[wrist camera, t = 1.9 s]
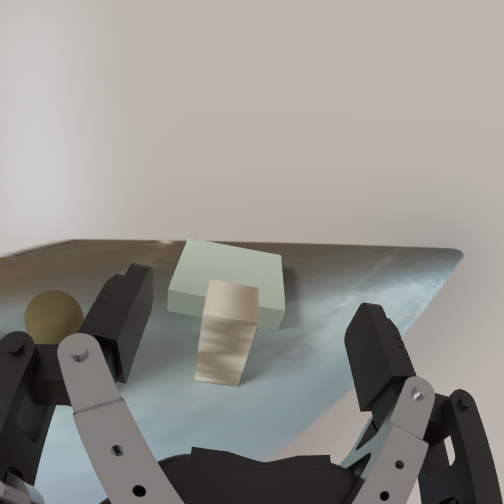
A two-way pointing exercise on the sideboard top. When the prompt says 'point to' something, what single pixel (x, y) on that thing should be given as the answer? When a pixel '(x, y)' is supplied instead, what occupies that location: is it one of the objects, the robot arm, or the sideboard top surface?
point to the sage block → (227, 278)
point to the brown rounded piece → (52, 317)
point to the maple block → (226, 332)
